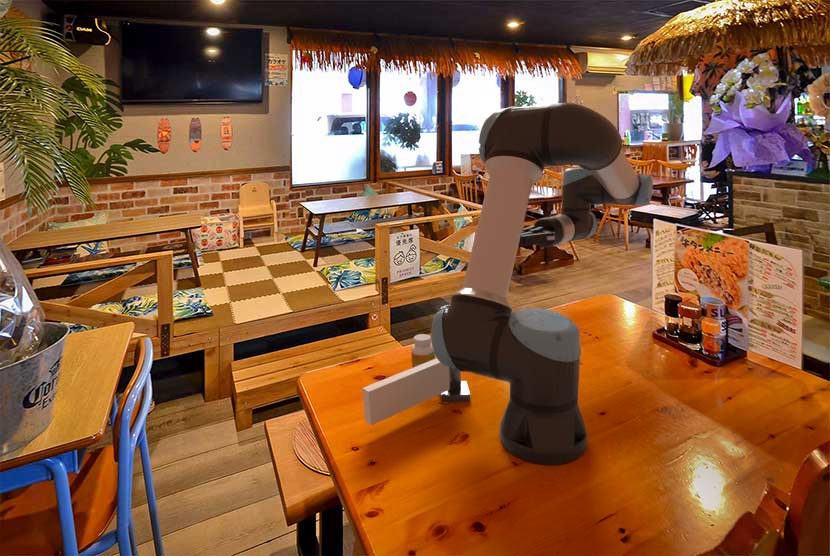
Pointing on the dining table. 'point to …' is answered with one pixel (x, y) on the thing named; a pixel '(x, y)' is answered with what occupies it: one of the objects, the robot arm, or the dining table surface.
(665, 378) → the dining table surface
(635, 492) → the dining table surface
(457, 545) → the dining table surface
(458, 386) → the post
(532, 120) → the robot arm
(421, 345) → the supplement bottle
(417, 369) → the swing arm
